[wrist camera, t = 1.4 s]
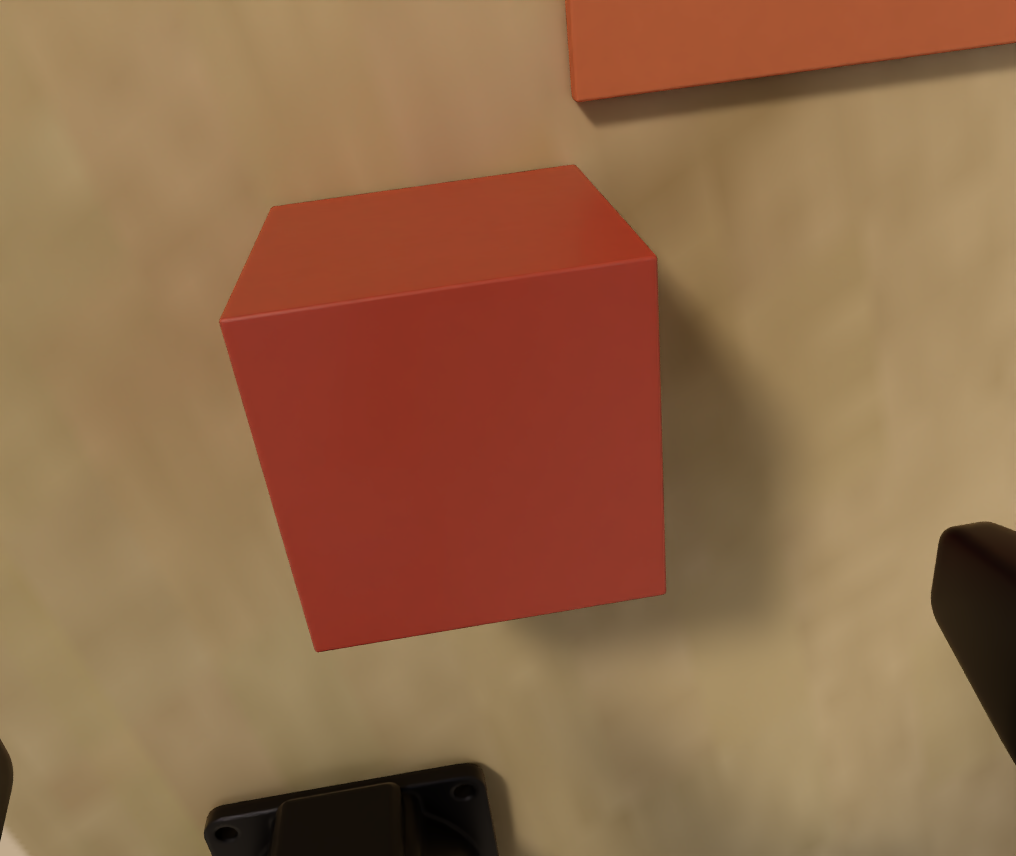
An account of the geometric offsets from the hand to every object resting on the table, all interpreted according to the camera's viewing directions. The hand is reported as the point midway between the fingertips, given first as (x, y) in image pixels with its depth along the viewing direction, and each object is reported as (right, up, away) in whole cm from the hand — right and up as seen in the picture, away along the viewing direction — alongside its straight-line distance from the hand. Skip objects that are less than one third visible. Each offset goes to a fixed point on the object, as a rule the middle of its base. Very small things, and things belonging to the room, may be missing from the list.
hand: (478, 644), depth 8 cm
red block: (-1, +4, +7) cm, 8 cm away
